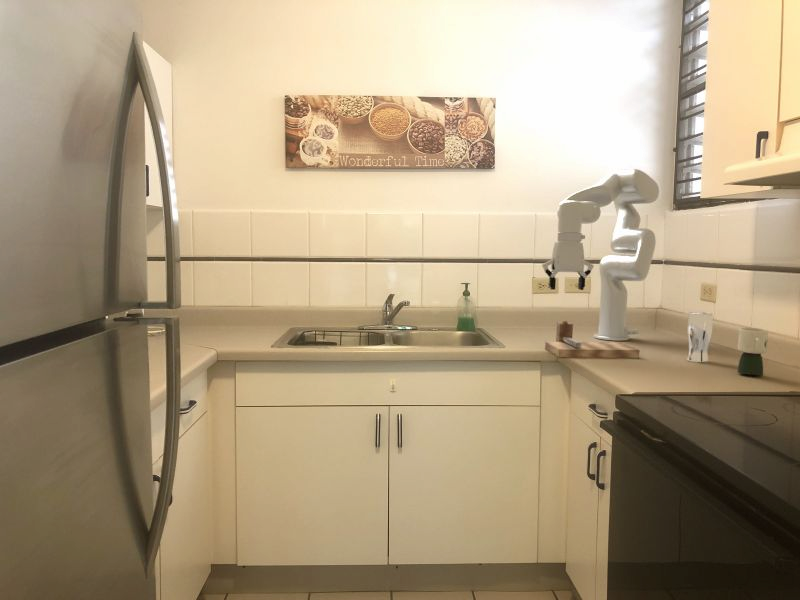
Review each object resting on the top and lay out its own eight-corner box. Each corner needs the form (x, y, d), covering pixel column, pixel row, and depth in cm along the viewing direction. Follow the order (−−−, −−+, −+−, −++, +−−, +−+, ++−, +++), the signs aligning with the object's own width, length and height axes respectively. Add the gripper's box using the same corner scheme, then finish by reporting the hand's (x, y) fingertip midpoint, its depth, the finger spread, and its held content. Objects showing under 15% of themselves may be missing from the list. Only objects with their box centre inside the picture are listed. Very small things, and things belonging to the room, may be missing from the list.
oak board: (620, 349, 211) (620, 342, 211) (638, 357, 198) (639, 349, 197) (545, 349, 210) (545, 341, 209) (558, 357, 196) (559, 348, 195)
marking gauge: (568, 346, 213) (570, 320, 213) (585, 355, 198) (586, 326, 197) (555, 346, 213) (557, 319, 212) (571, 355, 198) (572, 326, 197)
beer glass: (708, 359, 197) (711, 312, 196) (711, 363, 191) (715, 315, 189) (684, 357, 199) (687, 311, 198) (686, 361, 193) (689, 313, 191)
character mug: (770, 380, 169) (774, 332, 168) (741, 378, 171) (745, 331, 170) (758, 372, 180) (761, 327, 178) (731, 370, 181) (734, 326, 180)
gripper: (590, 238, 212) (587, 288, 214) (540, 237, 211) (538, 288, 213) (598, 238, 205) (596, 290, 207) (547, 237, 204) (544, 290, 206)
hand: (566, 289), depth 210 cm, fingers open, 9 cm apart
